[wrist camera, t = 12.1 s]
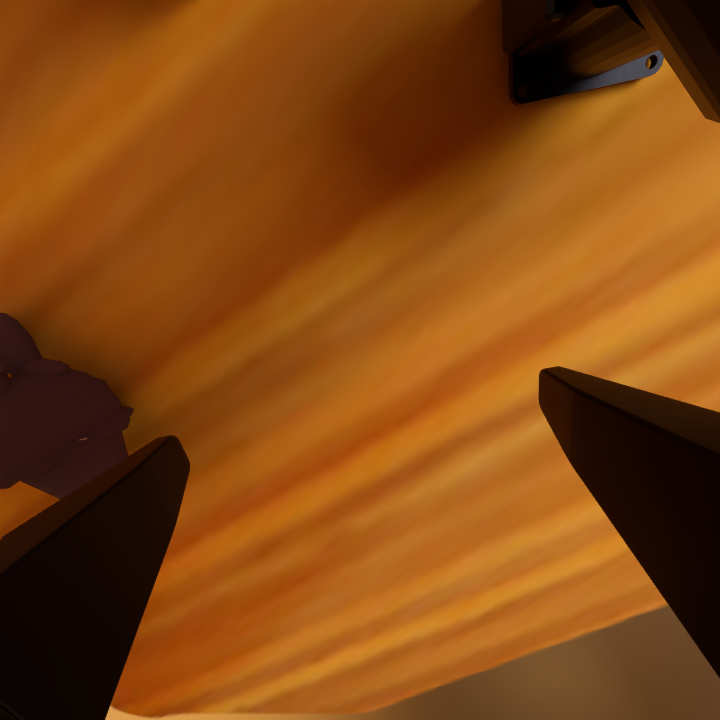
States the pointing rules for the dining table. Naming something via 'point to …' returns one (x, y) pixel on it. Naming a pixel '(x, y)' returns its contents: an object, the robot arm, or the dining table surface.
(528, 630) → the dining table surface
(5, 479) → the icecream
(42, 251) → the dining table surface
